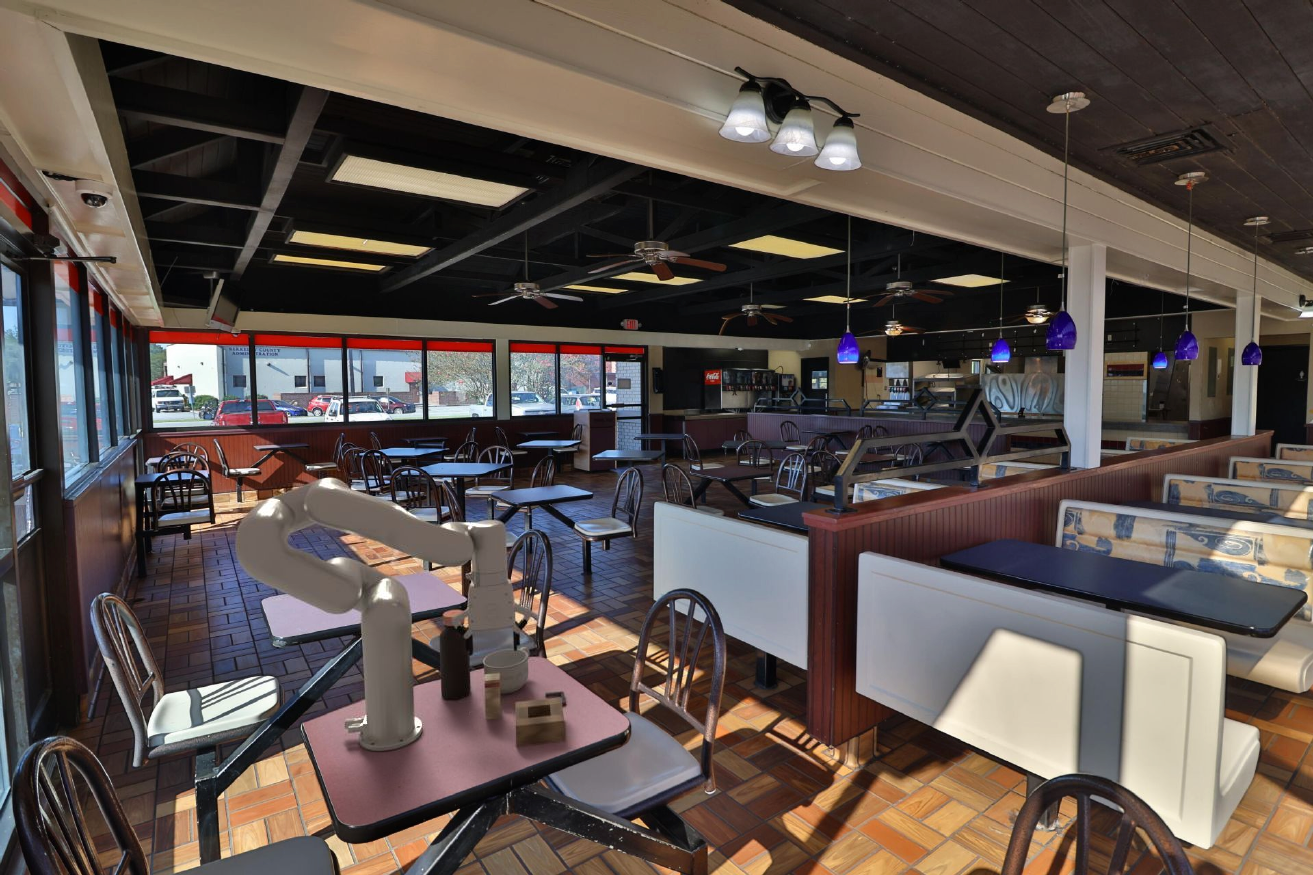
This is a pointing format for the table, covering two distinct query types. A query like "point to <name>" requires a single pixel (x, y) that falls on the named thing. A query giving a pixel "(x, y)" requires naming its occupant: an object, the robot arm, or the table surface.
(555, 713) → the wooden square socket block
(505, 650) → the teacup
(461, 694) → the bottle
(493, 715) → the red striped block
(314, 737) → the table surface
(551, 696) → the dark gray angular bracket
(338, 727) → the table surface
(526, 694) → the table surface
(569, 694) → the table surface
